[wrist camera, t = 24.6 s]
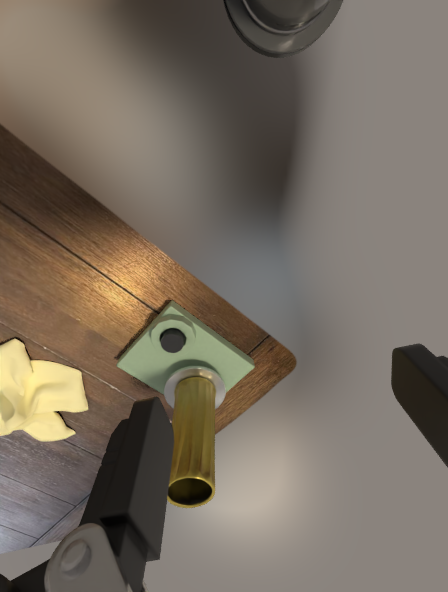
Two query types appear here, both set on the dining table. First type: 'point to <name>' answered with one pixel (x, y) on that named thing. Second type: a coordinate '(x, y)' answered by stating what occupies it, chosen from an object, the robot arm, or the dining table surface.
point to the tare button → (172, 340)
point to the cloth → (37, 394)
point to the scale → (183, 351)
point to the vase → (193, 444)
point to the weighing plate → (194, 372)
